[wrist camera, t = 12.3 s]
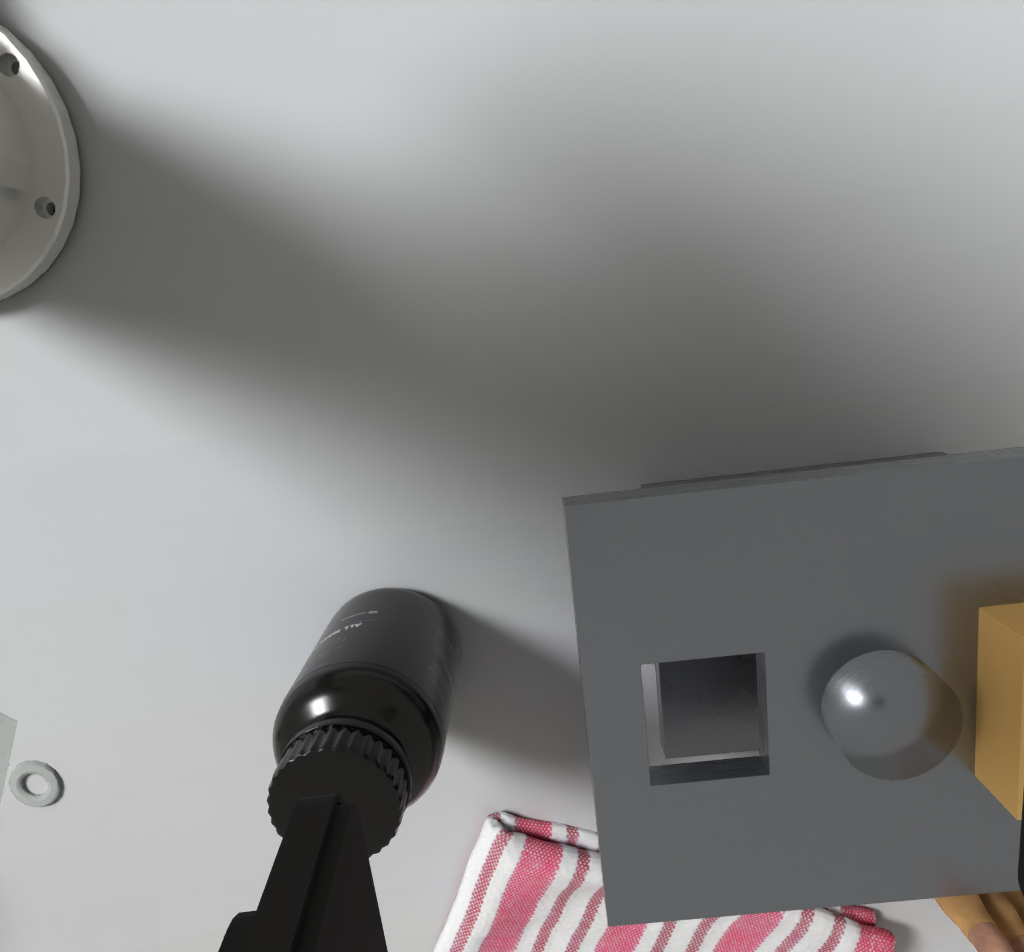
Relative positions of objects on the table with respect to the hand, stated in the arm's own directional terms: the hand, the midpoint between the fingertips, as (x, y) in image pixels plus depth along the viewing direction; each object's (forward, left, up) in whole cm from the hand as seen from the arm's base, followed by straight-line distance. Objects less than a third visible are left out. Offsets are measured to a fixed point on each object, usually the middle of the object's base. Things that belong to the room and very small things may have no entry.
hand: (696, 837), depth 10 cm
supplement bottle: (+9, -10, -26) cm, 29 cm away
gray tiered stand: (+9, +10, -25) cm, 29 cm away
